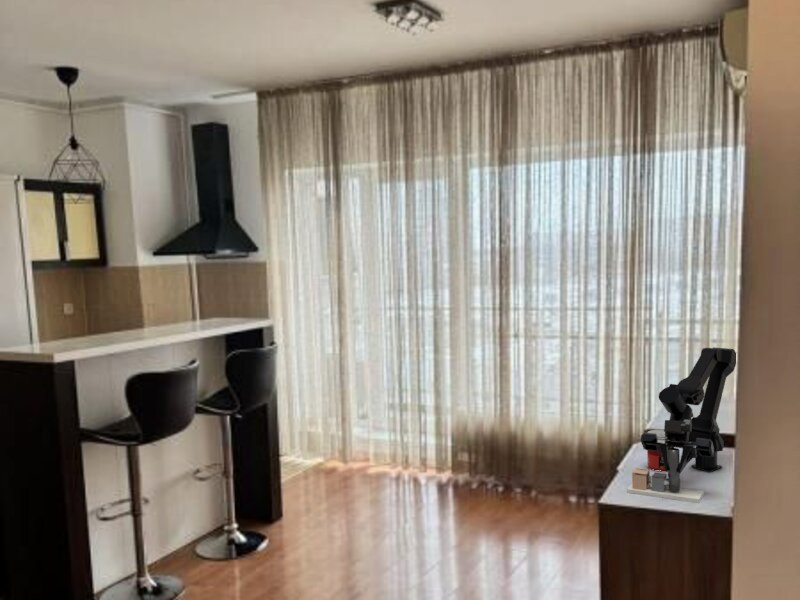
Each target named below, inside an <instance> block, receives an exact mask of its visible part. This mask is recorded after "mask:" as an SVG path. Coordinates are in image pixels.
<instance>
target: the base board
mask: <svg viewBox="0 0 800 600" xmlns="http://www.w3.org/2000/svg"><path fill="white" fill-rule="evenodd" d="M626 492H627V493H629V494H636V495H642V496H648V497H656V498H662V497H663V499H670V500H675V501H676V500H677V501H683V502H690V503H697V504H699V503H700V502H701V500H702V498H703V496H704V491H702V490H701V491H700V490H695V489H694V490H693V489H687V488H681V487H680V491H679V492H672V491H669V487H668V486H667V489H666V490H665V492H658V491H652V484H651V483H650V486H649V487H648V489H647V490H640V489H633V487H632V483H631V484H630V485H629V486H628V487H627V489H626Z"/></svg>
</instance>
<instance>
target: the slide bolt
mask: <svg viewBox="0 0 800 600" xmlns="http://www.w3.org/2000/svg"><path fill="white" fill-rule="evenodd" d="M680 460H681V456H680V448H676V447H674V448H668V472H667V478H664V485H666V486H667V487H669V491H672V492H679V491H680V488H681V473H679V472H678V470H679V464H680ZM646 477H647V483H650V484H652V475H650V476H646Z"/></svg>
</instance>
